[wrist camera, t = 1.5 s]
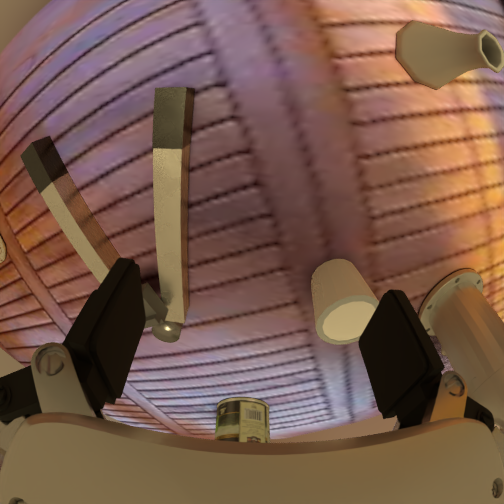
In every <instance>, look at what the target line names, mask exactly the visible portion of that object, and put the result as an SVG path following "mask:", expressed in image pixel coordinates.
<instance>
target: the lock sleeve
mask: <svg viewBox="0 0 504 504" xmlns="http://www.w3.org/2000/svg"><path fill="white" fill-rule="evenodd" d="M142 293H143V301H144V308H145V315H146V323H145V327H144V328H148V327H151V326H155V325H159V324H162V323H165V319H166V316H167V313H168V310H169V309H168V308H167V307H166V306H165V304H164V303H163V302H162V301H161V299H160V298H159V297H158V295H157V294H156V293H155V292H154V290H153V289H152V288H151V286H150V285H149V284H148V282H147V283H145V284H142Z"/></svg>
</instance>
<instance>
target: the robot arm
mask: <svg viewBox="0 0 504 504" xmlns="http://www.w3.org/2000/svg"><path fill="white" fill-rule="evenodd" d="M482 291H483V281H482V278H481V276H480V275H479V274H478V273H477V272H476V271H475V270H472V269H463V270H459V271H457V272H455V273H452V274H451V275H449V276H448V277H446V278H445V279H444V280H442V281H441V282H440V283H439V284H438V285H437V286H436V287H435V288H434V289H433V290H432V291H431V292H430V293H429V295H428V296H427V298H426V299H425V301H424V302H423V304H422V306H421V309H420V312H419V315H417V313H416V312H415V310H414V308H413V307H412V305H411V303H410V301H409V300H408V298H407V296H406V295H405V293H404V292H403V291H401V290H389V291H387V293H385V294H384V295H383V297H382V298H381V300H380V302H379V304H378V306H377V308H376V310H375V312H374V313H373V315H372V317H371V319H370V321H369V322H368V324H367V326H366V328H365V329H364V331H363V333H362V334H361V336H360V338H359V348H360V351H361V354H362V357H363V360H364V363H365V366H366V369H367V373H368V376H369V379H370V382H371V386H372V389H373V392H374V396H375V399H376V403H377V406H378V410H379V411H380V412H381V413H382V415H383V419H386V418H392V417H394V416H396V415H397V422H396V424H395V426H394V428H393V430H392V431H390V432H385V433H380V434H374V435H368V436H362V437H355V438H347V439H338V440H328V441H316V442H300V443H299V442H297V443H252V442H233V441H220V440H210V439H202V438H194V437H187V436H180V435H174V434H169V433H163V432H157V431H152V430H147V429H143V428H138V427H134V426H130V425H125V424H122V423H117V422H113V421H108V420H106V418H105V416H104V414H103V411H102V408H103V407H104V404H105V402H107V403H111V404H115V401H116V398H120V397H121V395H122V393H123V389H124V386H125V383H126V380H127V377H128V373H129V370H130V367H131V364H132V361H133V358H134V355H135V352H136V350H137V347H138V344H139V341H140V338H141V335H142V333H143V330H144V327H145V323H146V315H145V308H144V301H143V293H142V285H141V277H140V268H139V265H138V264H135V261H134V260H133V259H126V258H118V259H117V260H116V262H115V263H114V265H113V266H112V268H111V269H110V271H109V272H108V274H107V276H106V277H105V279H104V280H103V282H102V283H101V285H100V286H99V288H98V290H94V291H93V292H92V294H91V295H90V297H89V298H88V300H87V302H86V303H85V305H84V307H83V308H82V310H81V312H80V313H79V315H78V317H77V318H76V320H75V322H74V324H73V325H72V327H71V329H70V331H69V333H68V334H67V336H66V338H65V340H64V342H63V344H59V343H55V342H51V343H46V344H44V345H42V346H40V347H39V348H38V349H37V350H36V351H35V352H34V354H33V356H32V359H31V365H30V366H28V367H25V368H23V369H21V370H18V371H16V372H13V373H11V374H8V375H6V376H4V377H1V378H0V504H504V323H503V321H502V320H501V319H500V317H499V316H498V314H497V313H496V312H495V310H494V309H493V307H492V306H491V305H490V303H489V302H488V301H487V300H486V298H485V297H484V296H483V294H482ZM429 335H433V336H436V337H437V338H438V340H439V342H440V344H441V346H442V347H441V354H442V355H444V356H447V358H448V360H449V362H450V364H451V366H452V368H453V370H454V371H446V372H445V373H444V374H443V375H442V373H441V371H442V370H443V369H444V365H443V363H442V361H441V359H440V357H439V354H438V353H437V351H436V349H435V347H434V345H433V343H432V341H431V339H430V337H429ZM494 424H496V425H498V426H500V429H498V428H497V426H495V427H494Z"/></svg>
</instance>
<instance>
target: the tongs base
mask: <svg viewBox="0 0 504 504" xmlns="http://www.w3.org/2000/svg"><path fill="white" fill-rule="evenodd" d="M21 158H22V160H23V162H24V165H25V167H26V169H27V171H28V173H29V175H30V177H31V178H32V180H33V182H34V184H35V186H36V188H37V190H38V192H39V193H41V195H42V197H43V199H44V200H45V202H46V204H47V205H48V207H49V209H50V211H51V212H52V214H53V216H54V217H55V219H56V220H57V222H58V224H59V225H60V227H61V228H62V230H63V231H64V233H65V235H66V236H67V238H68V239H69V241H70V242H71V244H72V245H73V247H74V248H75V249H76V251H77V252H78V254H79V255H80V257H81V258H82V259H83V261H84V262H85V264H86V265H87V266H88V268H89V269H90V270H91V272H92V273H93V274H94V276H95V277H96V278H97V280H98V281H99V282H100V283H102V282H103V280H104V279H105V277H106V276H107V274H108V272H109V271H110V269H111V268H112V266H113V265H114V263H115V262H116V260H117V259H118V258H121V257H120V255H119V254H118V253H117V251H116V250H115V248H114V247H113V245H112V244H111V242H110V241H109V239H108V238H107V236H106V235H105V233H104V232H103V230H102V229H101V227H100V226H99V224H98V223H97V221H96V219H95V218H94V216H93V215H92V213H91V211H90V210H89V208H88V207H87V205H86V203H85V202H84V200H83V198H82V197H81V195H80V193H79V191H78V190H77V188H76V186H75V184H74V183H73V181H72V179H71V177H70V175H69V174H68V171H67V169H66V167H65V166H64V164H63V162H62V160H61V158H60V156H59V154H58V152H57V150H56V148H55V146H54V144H53V142H52V140H51V138H50V136H48V137H45V138H42V139H40V140H37V141H34V142H32V143H31V144H30V145H29V146H28V147H27V149H26V150H25V151H24V152H23V153H22V155H21ZM182 325H183V323H179V322H171V321H165V323H162V324H159V325H155V326H153V327H152V333H153V334H154V336H155V337H156V338H158V339H159V340H161V341H164V342H169V343H171V342H176V341H177V340H178V339H179V337H180V333H181V329H182Z"/></svg>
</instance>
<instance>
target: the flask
mask: <svg viewBox="0 0 504 504" xmlns="http://www.w3.org/2000/svg"><path fill="white" fill-rule="evenodd" d="M396 59H397V60H398V61H399V62H400V63H401V65H402V66H403V67H404V68H405V69H406V71H407V72H408V73H409V75H410V76H411V77H412V78H413V80H414V81H416V82H418V83H421V84H423V85H426V86H428V87H430V88H433V89H435V90H438V89H439V88H441V87H442V86H444V85H445V84H447V83H448V82H450V81H451V80H453V79H455V78H456V77H458V76H460V75H462V74H463V73H465V72H467V71H470V70H474V69H478V68H490V69H491V70H493V71H494V72H496V73H499V72H500V71H501V69H502V68H503V67H504V51H503V49H502V47H501V46H500V44H499V42H498V40H497V39H496V37H494V36H493V35H492V34H490V33H489V32H488V31H486V30H482V31H481V32H480V33H479V34H471V35H470V34H463V33H455V32H452V31H449V30H446V29H442V28H439V27H435V26H432V25H428V24H425V23H421V22H417V21H413V20H412V21H411V22H410V23H408V24H407V25H406V26H405V27H403V28H402V29H401V30H400V31H399V32H397V47H396Z"/></svg>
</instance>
